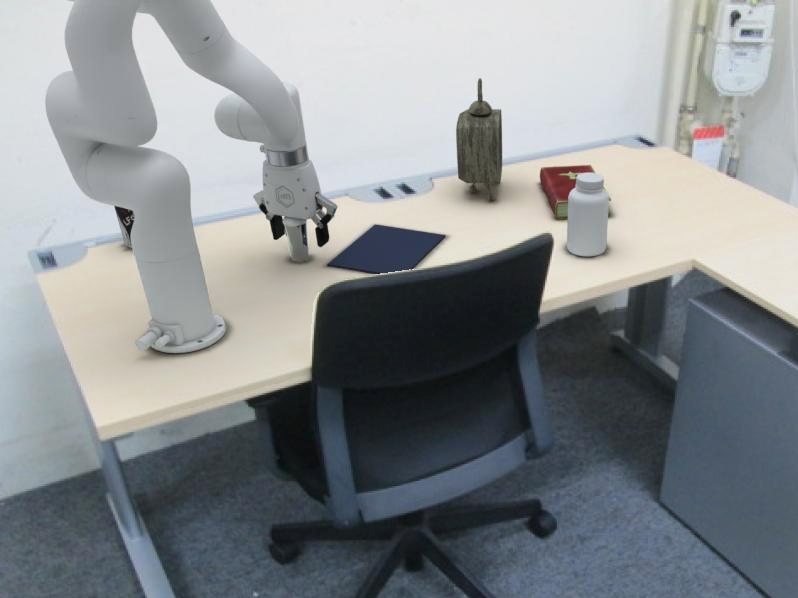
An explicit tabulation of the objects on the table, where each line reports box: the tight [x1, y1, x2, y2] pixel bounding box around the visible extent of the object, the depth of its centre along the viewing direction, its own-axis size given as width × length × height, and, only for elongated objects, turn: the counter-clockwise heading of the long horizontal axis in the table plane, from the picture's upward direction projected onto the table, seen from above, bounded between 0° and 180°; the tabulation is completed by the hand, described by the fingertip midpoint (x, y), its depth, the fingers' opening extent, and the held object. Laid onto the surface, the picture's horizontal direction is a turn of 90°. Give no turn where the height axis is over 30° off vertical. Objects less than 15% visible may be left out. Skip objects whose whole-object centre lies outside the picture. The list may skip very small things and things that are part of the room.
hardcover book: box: [539, 164, 612, 221], centre depth 201 cm, size 12×21×4 cm, turn 9°
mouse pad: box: [326, 224, 446, 275], centre depth 179 cm, size 20×16×1 cm
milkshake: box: [282, 216, 310, 263], centre depth 173 cm, size 4×5×10 cm
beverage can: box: [113, 206, 135, 249], centre depth 177 cm, size 6×6×12 cm
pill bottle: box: [566, 172, 610, 257], centre depth 176 cm, size 8×8×15 cm
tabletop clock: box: [455, 77, 503, 202], centre depth 198 cm, size 14×9×25 cm, turn 179°
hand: (301, 240), depth 174 cm, fingers open, 9 cm apart
